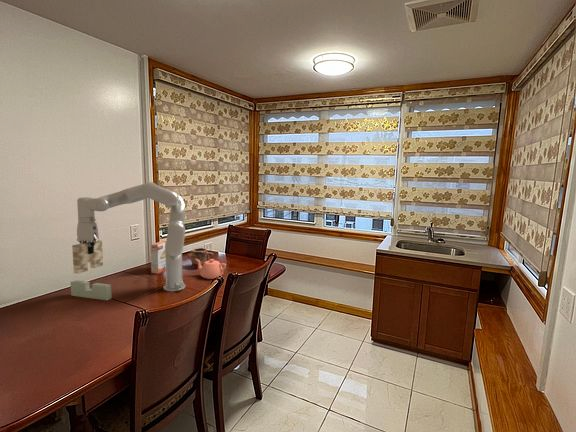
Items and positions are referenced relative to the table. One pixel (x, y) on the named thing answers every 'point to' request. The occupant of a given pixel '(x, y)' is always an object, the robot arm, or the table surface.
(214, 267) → the teapot
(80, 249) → the maple plate
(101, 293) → the slotted base
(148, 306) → the table surface
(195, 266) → the decorative planter
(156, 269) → the cracker box
